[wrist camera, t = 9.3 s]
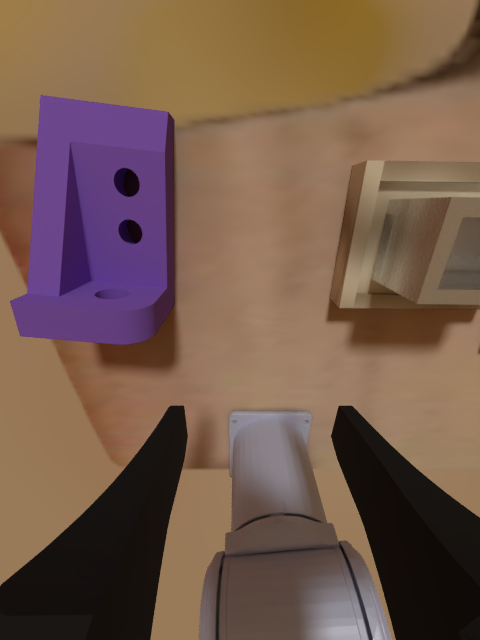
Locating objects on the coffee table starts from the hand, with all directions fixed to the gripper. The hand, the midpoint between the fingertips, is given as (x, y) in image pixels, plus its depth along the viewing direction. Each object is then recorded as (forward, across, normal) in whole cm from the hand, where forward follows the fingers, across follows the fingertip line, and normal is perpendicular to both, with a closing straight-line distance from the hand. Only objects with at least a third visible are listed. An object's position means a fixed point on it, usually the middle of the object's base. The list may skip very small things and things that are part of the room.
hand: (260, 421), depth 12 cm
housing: (+9, -12, -7) cm, 16 cm away
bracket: (+11, +9, -8) cm, 16 cm away
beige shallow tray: (+10, -12, -7) cm, 17 cm away
